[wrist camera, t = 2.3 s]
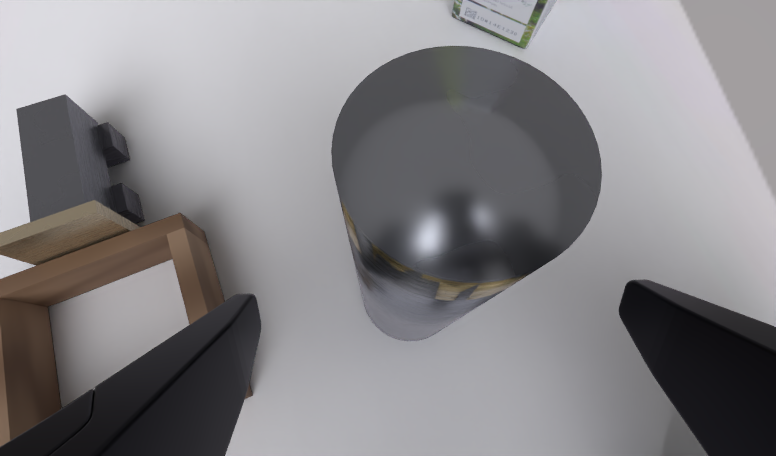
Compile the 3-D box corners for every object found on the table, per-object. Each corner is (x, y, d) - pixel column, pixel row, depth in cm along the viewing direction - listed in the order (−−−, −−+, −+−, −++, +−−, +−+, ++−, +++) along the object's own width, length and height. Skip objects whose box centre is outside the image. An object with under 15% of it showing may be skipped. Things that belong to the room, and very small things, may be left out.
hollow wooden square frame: (252, 395, 17) (232, 399, 14) (50, 489, 15) (-10, 511, 13) (204, 231, 19) (180, 212, 17) (28, 298, 18) (-24, 288, 16)
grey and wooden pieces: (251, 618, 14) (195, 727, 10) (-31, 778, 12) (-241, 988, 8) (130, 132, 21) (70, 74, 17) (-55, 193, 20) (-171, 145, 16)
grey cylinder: (431, 359, 17) (549, 336, 5) (346, 312, 18) (278, 197, 6) (469, 274, 19) (632, 104, 7) (389, 234, 20) (406, 14, 7)
